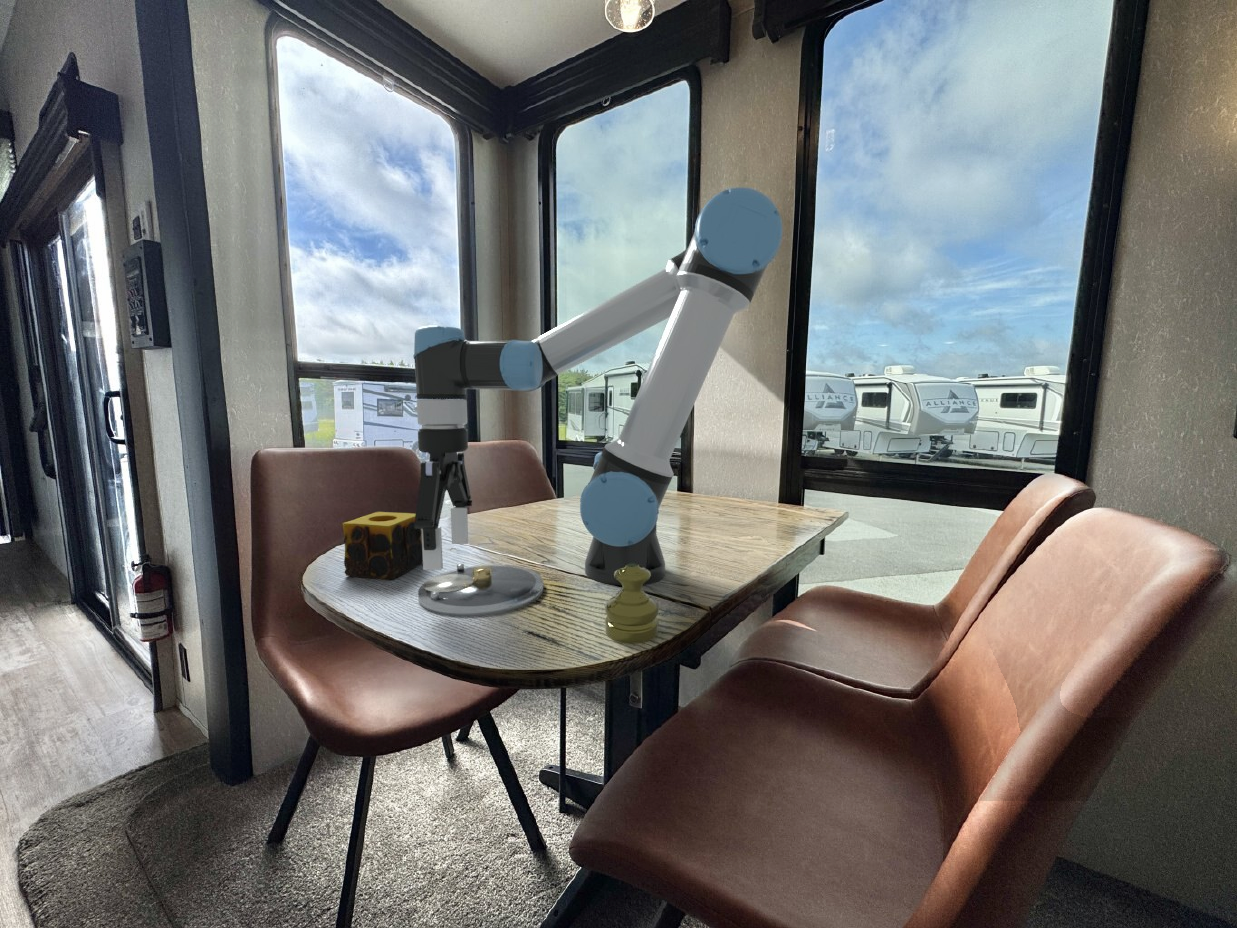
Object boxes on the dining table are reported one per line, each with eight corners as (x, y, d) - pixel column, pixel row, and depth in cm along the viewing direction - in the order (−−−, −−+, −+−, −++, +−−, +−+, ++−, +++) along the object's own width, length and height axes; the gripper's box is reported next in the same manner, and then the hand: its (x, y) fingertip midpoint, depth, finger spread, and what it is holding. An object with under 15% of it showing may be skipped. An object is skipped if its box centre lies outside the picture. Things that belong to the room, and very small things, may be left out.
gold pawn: (669, 635, 70) (671, 565, 69) (632, 654, 65) (632, 578, 63) (631, 618, 75) (632, 553, 74) (593, 634, 70) (593, 564, 69)
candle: (393, 581, 90) (390, 526, 88) (343, 577, 91) (339, 523, 90) (425, 563, 99) (423, 513, 98) (380, 559, 101) (377, 510, 100)
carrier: (550, 571, 95) (549, 551, 94) (533, 618, 75) (532, 592, 74) (442, 571, 95) (442, 550, 94) (397, 617, 75) (395, 591, 74)
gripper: (445, 422, 93) (449, 534, 96) (383, 432, 69) (392, 582, 71) (486, 422, 93) (489, 534, 96) (439, 432, 69) (445, 582, 71)
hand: (447, 555), depth 84 cm, fingers open, 13 cm apart
